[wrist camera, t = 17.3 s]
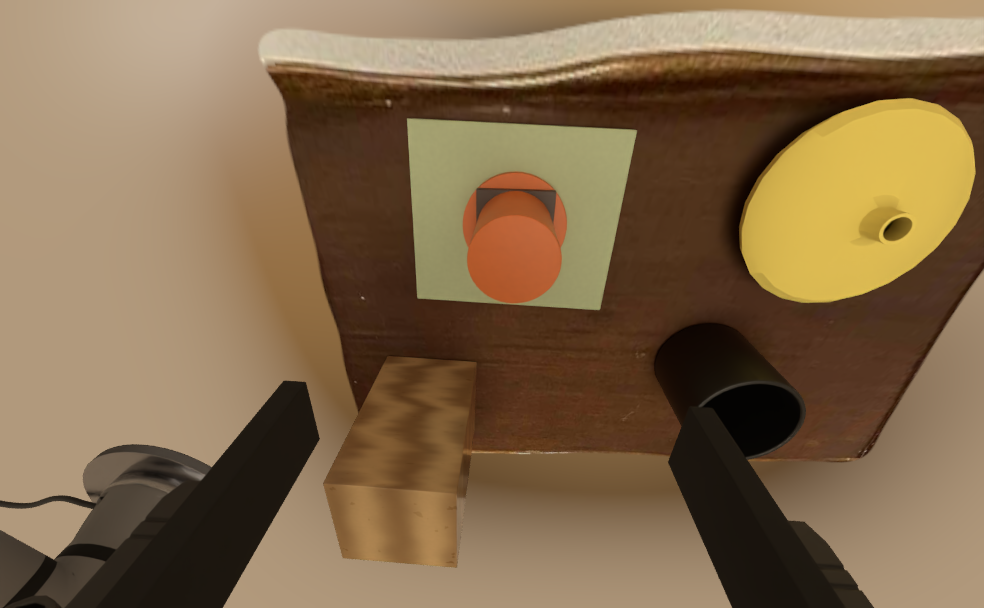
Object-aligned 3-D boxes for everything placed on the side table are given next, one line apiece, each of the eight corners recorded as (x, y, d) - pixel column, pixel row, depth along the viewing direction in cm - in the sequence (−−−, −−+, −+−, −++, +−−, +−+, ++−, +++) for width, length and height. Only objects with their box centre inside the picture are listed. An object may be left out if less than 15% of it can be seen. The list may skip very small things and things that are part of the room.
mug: (738, 406, 42) (790, 476, 34) (638, 383, 42) (668, 449, 34) (789, 339, 38) (861, 402, 30) (678, 312, 37) (722, 369, 29)
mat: (419, 294, 38) (417, 298, 37) (409, 118, 30) (406, 118, 29) (597, 305, 37) (599, 310, 36) (633, 129, 30) (637, 130, 29)
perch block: (394, 420, 47) (342, 558, 32) (387, 355, 42) (322, 483, 28) (474, 426, 46) (456, 567, 32) (476, 361, 42) (456, 494, 27)
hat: (464, 269, 35) (450, 316, 28) (462, 169, 31) (445, 191, 23) (560, 273, 35) (572, 322, 27) (571, 172, 31) (590, 196, 23)
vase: (866, 295, 35) (941, 335, 29) (698, 281, 36) (737, 318, 29) (981, 106, 28) (1116, 107, 22) (767, 90, 28) (839, 87, 22)
